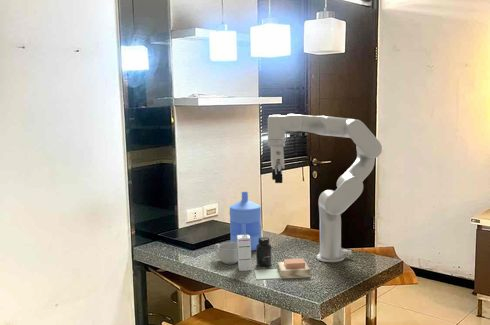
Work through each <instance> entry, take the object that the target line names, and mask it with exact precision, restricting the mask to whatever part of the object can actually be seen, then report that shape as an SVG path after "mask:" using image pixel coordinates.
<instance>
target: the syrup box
mask: <svg viewBox="0 0 490 325" xmlns="http://www.w3.org/2000/svg"><path fill="white" fill-rule="evenodd" d="M237 250H238V262H237V266H238V268H237V269H238V271H240V272H243V271H245V272H246V271H247V272H248V271H252V270H253V269H252V268H253V265H252V251H251V242H250V236H249V235H237Z"/></svg>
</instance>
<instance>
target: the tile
mask: <svg viewBox="0 0 490 325" xmlns="http://www.w3.org/2000/svg"><path fill="white" fill-rule="evenodd" d="M304 261H305V260H304V258H303V257H301V258H300V257H299V258H286V259H285V258H284V259H283V262H284V265H285V267H286V268H305V262H306V261H305V262H304Z"/></svg>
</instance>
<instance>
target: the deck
mask: <svg viewBox="0 0 490 325" xmlns="http://www.w3.org/2000/svg"><path fill="white" fill-rule="evenodd" d="M304 262H305V268H286V267H285V265H284V261H277V269H278V271H279V274H280V276H281V278H282V279H289V278H288V277H302V278H309V277H308V276H311V269H310V267H309V265H308V263H307V262H306V260H304Z"/></svg>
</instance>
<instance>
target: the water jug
mask: <svg viewBox="0 0 490 325" xmlns="http://www.w3.org/2000/svg"><path fill="white" fill-rule="evenodd" d="M248 193H249V192H248V191H241V200H240V201H238V202H236V203H234V204H232V205H230V206H229V224H230V226H229V231H230V242H237V235H249V236H250V242H251V252H254V251H256V246H257V245H258V244H259V243H258V241H259V238H261V237H262V219H261V218H262V216H261V215H262V209H261V205H260V204H257V203H255V202H253V201H252V200H249V195H248Z"/></svg>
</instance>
